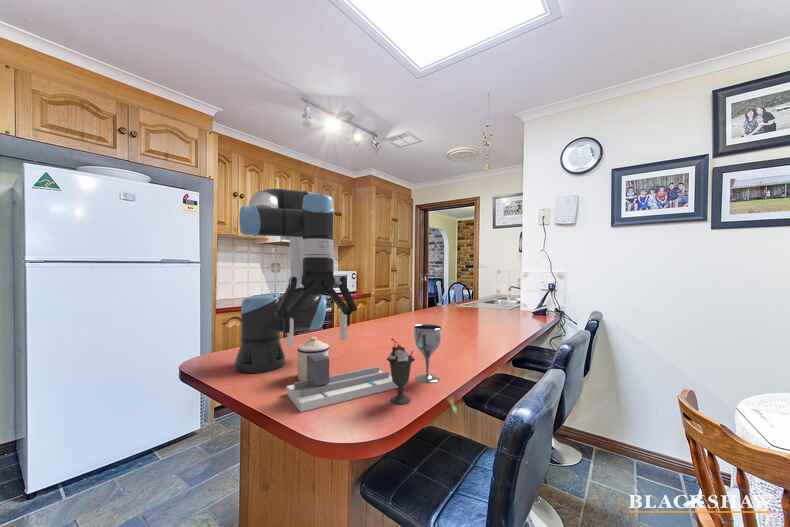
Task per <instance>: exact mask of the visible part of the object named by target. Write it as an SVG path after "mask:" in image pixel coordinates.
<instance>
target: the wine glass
mask: <svg viewBox="0 0 790 527" xmlns="http://www.w3.org/2000/svg"><path fill="white" fill-rule="evenodd" d="M413 339H414V342H415V343H414V344H415V347H417V349H418V350H419V352H420V353H421V354H422V356H423V357H424V362H425V374H418V375H415V377H414V379H415V381H417V382H419V383H424V384H434V383H437V382H440V380H441V379H440V377H439V376H437V375H435V374H430V361H431V357H432V356H433V354H434V353H435V352H436V351H437V350H438V348H439V346H440V343H441V339H442V326H441V325H438V324H432V323H431V324H429V323H424V324H423V323H422V324H415V325H414V326H413Z"/></svg>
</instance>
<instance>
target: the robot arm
mask: <svg viewBox="0 0 790 527" xmlns="http://www.w3.org/2000/svg"><path fill="white" fill-rule="evenodd" d="M334 212H335V208H334V199H333V197H332V196H331V195H328V194H323V193H315V192H313V191H307V190H295V189H294V190H293V189H285V188H284V189H283V188H268V189H263V190H260V191H257V192H255V193H254V194H253V195H252V196H251V198H250V199H249V201H248V206H247V205H244V206H241V207H240V209H239V215H238V216H239V222H238V223H239V232H240V233H241V234H242V235H244V236H245V235H246V236H253V237H259V236H261V237H262V236H263V237H267V236H268V237H270V236H271V237H287V238H288V237H289V260H290V262H289V263H290V264H289V265H290V266H289V267H290V268H289V269H290V277H289V279H288V286H287V287H286V290H285V292H284V294H283V296H281V293H280V292H268V293H261V294H257V295H256V294H255V295H250V296H248V297H247V296H246V297H245V298H244V299H243V300H242V302H241V310H240V315H241V318H240V319H241V320H240V321H241V326H240V328H241V329H240V330H241V332H240V339H241V340H240V346H239V349H238V353H237V355H236V358H235V361H234V370H235V371H236V372H239V373H243V374H244V373H245V374H246V373H247V374H250V373H251V374H257V373H258V374H259V373H265V372H271V371H276V370H277V369H280V368H281V367H284V366H285V365H286V355H285V352H284V349H283V346H282V344H281V340H280V339H281V334H280V333H285V334H286V346H288V347H289V348H294V335H295V334H294V332H300V331H311V330H312V331H313V330H318V329H319V330H320V328H322V327H323V325H324V322H325V317H326V312H327V297H326V295H328V296H329V297H330V299H331V300H332V301H333V302H334V303H335V304H336V305H337V307H338V308H339V309H340V311H341V312H342V313H340V314H339V339H340V340H342V341H347V340H348V327H350V325H351V315H352V313H353V312H356V311H357V310H358V307H357V306H356V303H355V300H354V299H353V296H352V295H351V292H350V290H349V288H348V286H347V281H346V277H345V275H339V276H335V275H334V271H335V268H334V264H335V263H334V258H333V256H334V218H335V217H334V214H335V213H334ZM334 284H336V285H337V286H338V288H339V291H340V293H341V296H343V300H344V301H345V302H344V301H343V300H342V298H341V297H340V295H339V294H338V293H337V291H336V289H334V288H333V286H334Z"/></svg>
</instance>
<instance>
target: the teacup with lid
mask: <svg viewBox="0 0 790 527" xmlns="http://www.w3.org/2000/svg"><path fill="white" fill-rule="evenodd" d="M317 353H321V354H323V355H324V356H326V357H328V358H329V359H330V354H331V351H330V346H329V344H328V343H326V342H323V341H321V340H318V337H317V336H311V337H309V340H307V341H306V342H304V343H301V344H300V345H298V346H297V379H298V380H299V381H305V380H308V379H307V355H311V354H317Z"/></svg>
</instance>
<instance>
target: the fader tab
mask: <svg viewBox="0 0 790 527" xmlns="http://www.w3.org/2000/svg"><path fill="white" fill-rule="evenodd" d="M329 376H330V357H329V358H328V357H326V356H324V355H323V354H321V353H317V354H311V355H307V379H308V387H309V388H310V387H315V386H319V385H324V384H328V383H329Z"/></svg>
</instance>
